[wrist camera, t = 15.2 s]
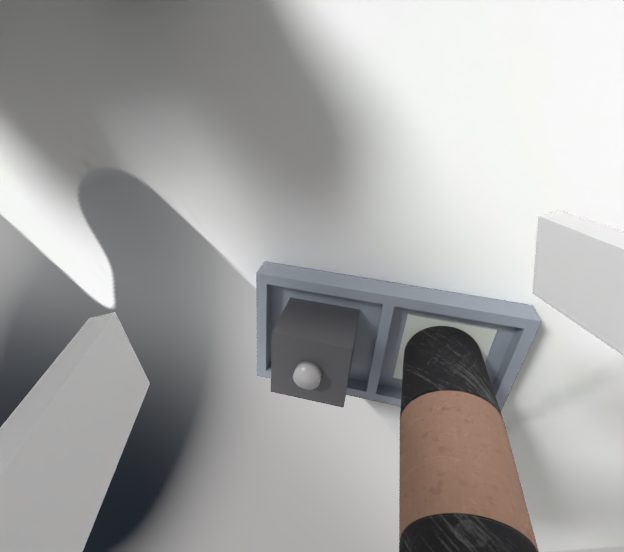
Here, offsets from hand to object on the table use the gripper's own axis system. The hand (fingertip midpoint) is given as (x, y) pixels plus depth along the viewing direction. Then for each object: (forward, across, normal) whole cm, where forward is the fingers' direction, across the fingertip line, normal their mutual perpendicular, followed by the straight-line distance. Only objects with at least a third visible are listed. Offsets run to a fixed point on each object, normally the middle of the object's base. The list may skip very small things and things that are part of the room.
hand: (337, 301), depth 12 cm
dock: (+21, +6, -17) cm, 28 cm away
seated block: (+22, 0, -16) cm, 27 cm away
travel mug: (+18, +11, -19) cm, 29 cm away
